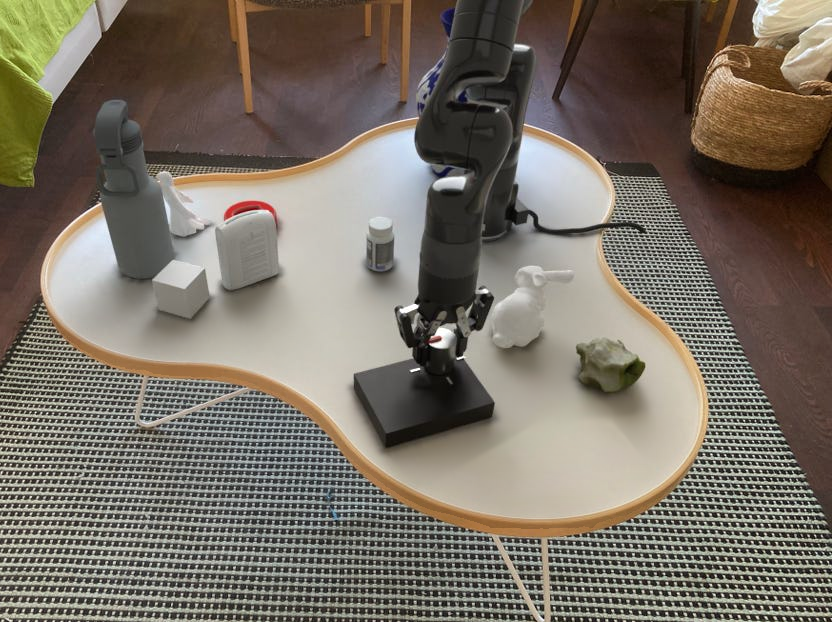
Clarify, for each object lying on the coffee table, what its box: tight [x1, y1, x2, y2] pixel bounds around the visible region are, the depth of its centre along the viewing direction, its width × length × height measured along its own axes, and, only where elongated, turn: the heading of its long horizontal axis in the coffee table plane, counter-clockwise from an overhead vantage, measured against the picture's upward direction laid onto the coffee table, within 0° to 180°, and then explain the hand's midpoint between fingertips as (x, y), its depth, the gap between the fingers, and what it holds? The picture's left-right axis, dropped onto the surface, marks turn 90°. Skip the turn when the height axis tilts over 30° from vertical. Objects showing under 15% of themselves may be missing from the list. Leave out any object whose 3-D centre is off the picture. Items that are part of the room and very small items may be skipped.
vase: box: [415, 6, 507, 178], centre depth 142 cm, size 19×19×30 cm
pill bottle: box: [365, 216, 395, 272], centre depth 125 cm, size 5×5×8 cm
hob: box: [353, 355, 496, 449], centre depth 103 cm, size 16×14×3 cm
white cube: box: [151, 259, 211, 320], centre depth 118 cm, size 6×6×6 cm
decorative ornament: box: [223, 200, 278, 232], centre depth 135 cm, size 10×10×3 cm
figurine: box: [155, 170, 210, 237], centre depth 132 cm, size 8×8×12 cm
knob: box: [424, 327, 457, 375], centre depth 103 cm, size 4×4×5 cm
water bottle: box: [92, 99, 176, 280], centre depth 118 cm, size 10×10×28 cm
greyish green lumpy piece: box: [575, 337, 646, 393], centre depth 105 cm, size 9×9×8 cm
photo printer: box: [214, 210, 280, 291], centre depth 121 cm, size 10×4×12 cm, turn 124°
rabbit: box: [491, 265, 575, 349], centre depth 110 cm, size 12×9×12 cm
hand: (439, 357), depth 104 cm, fingers open, 5 cm apart
